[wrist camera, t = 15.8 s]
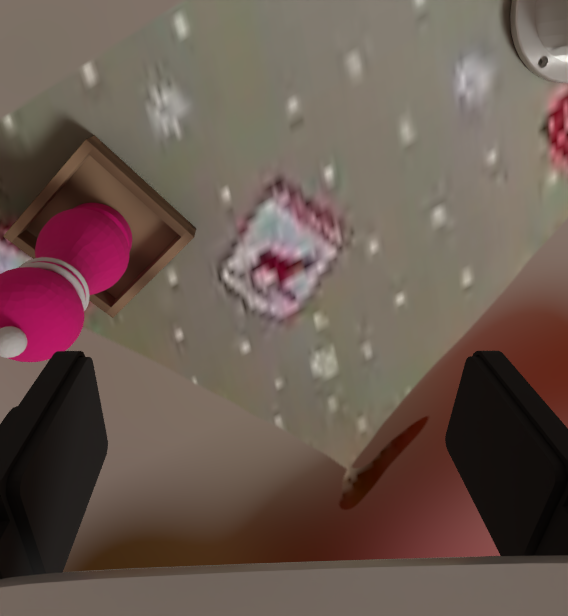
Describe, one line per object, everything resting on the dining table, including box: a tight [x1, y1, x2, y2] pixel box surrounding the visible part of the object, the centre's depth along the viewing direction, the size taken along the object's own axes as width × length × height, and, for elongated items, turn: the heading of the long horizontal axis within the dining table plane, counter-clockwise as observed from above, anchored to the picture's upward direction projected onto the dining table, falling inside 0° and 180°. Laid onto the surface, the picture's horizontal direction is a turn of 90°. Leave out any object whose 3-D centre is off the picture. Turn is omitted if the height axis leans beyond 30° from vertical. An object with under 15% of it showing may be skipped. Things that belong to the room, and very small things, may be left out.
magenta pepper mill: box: [0, 203, 132, 362], centre depth 34 cm, size 7×7×20 cm
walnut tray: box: [4, 136, 196, 318], centre depth 42 cm, size 12×12×3 cm
